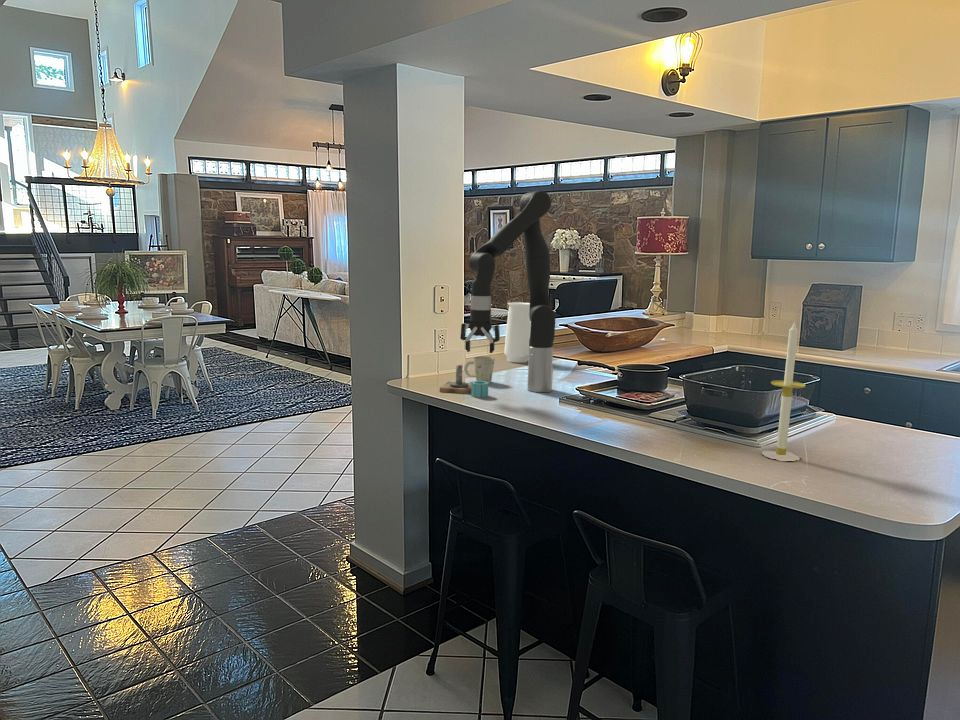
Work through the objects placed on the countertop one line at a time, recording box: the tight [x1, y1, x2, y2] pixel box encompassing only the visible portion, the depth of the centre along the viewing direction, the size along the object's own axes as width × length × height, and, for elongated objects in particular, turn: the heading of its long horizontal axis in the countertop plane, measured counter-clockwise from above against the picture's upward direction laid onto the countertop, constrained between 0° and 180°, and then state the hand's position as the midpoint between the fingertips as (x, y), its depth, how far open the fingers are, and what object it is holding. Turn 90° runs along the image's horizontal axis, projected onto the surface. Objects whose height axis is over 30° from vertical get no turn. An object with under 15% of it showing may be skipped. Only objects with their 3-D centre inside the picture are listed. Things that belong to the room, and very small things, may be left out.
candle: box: [770, 319, 806, 455], centre depth 181 cm, size 10×10×38 cm
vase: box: [503, 301, 531, 364], centre depth 324 cm, size 13×13×28 cm
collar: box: [470, 380, 489, 399], centre depth 249 cm, size 6×6×5 cm
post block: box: [439, 364, 472, 395], centre depth 258 cm, size 12×12×10 cm
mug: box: [463, 355, 496, 384], centre depth 274 cm, size 8×13×10 cm, turn 78°
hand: (479, 352), depth 247 cm, fingers open, 8 cm apart
